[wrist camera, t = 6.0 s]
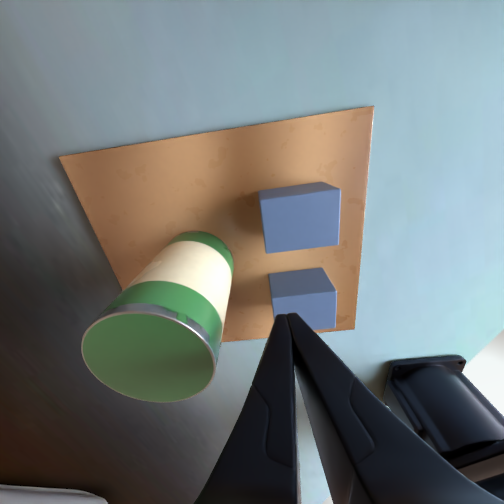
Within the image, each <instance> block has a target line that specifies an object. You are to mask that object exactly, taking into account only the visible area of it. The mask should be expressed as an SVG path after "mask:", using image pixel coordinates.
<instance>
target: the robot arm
mask: <svg viewBox="0 0 504 504" xmlns="http://www.w3.org/2000/svg"><path fill="white" fill-rule="evenodd" d="M465 364H466V360H465V359H464V358H463V357H462V356H459V355H457V356H446V357H435V358H423V359H412V360H401V361H394V362H392V363H391V364H390V368H389V373H388V378H387V383H386V387H385V392H384V398H383V401H384V403H385V405H386V406H388V407H389V408H390V410H391V411H390V410H389V409H388V408H387V407H386V406H385V405H384V404H383V403H382V402H381V401H380V400H379V399H378V398H377V397H376V396H375V395H374V394H373V393H372V392H371V391H370V390H369V389H368V388H367V387H366V386H365V385H364V384H363V383H362V382H361V381H360V380H359V379H358V377H355V374H354V373H353V372H352V371H351V370H350V369H349V368H348V367H347V366H346V365H345V364H344V363H343V362H342V360H341V359H340V358H339V357H338V356H337V355H336V354H335V353H334V352H333V351H332V350H331V349H330V348H329V347H328V346H327V344H326V343H325V342H324V341H323V340H322V339H321V338H320V337H319V336H318V335H317V334H316V333H315V332H314V331H313V330H312V328H311V327H310V326H309V325H308V324H307V323H306V322H305V321H304V320H303V319H302V318H301V317H300V316H299V315H298V314H297V313H296V312H295V313H288V314H287V315H286V314H277V315H276V317H275V320H274V323H273V326H272V329H271V331H270V334H269V337H268V340H267V343H266V345H265V348H264V351H263V354H262V357H261V359H260V362H259V365H258V368H257V371H256V373H255V376H254V379H253V382H252V386H251V387H250V390H249V393H248V396H247V398H246V401H245V403H244V406H243V408H242V411H241V413H240V415H239V417H238V420H237V422H236V424H235V426H234V428H233V430H232V432H231V434H230V436H229V439H228V441H227V443H226V445H225V447H224V449H223V451H222V453H221V455H220V457H219V459H218V461H217V463H216V465H215V467H214V469H213V471H212V473H211V475H210V477H209V479H208V481H207V483H206V484H205V486H204V488H203V490H202V491H201V493H200V495H199V496H198V498H197V499H196V501H195V502H194V504H301V486H300V467H299V448H298V429H297V409H296V390H295V373H296V376H297V380H298V383H299V387H300V390H301V394H302V397H303V400H304V404H305V407H306V411H307V414H308V418H309V421H310V425H311V428H312V432H313V435H314V438H315V442H316V445H317V449H318V452H319V456H320V459H321V463H322V466H323V469H324V473H325V476H326V480H327V483H328V487H329V490H330V494H331V497H332V500H333V504H504V416H503V415H502V414H501V413H500V412H499V411H498V410H497V409H496V408H495V407H494V406H493V405H492V404H491V403H490V402H489V401H488V400H487V399H486V398H485V397H484V396H483V395H482V394H481V392H480V391H479V390H478V389H477V388H476V387H475V386H474V385H473V384H472V383H471V382H470V381H469V380H468V379H467V378H466V377H465V376H464V375H463V373H462V371H463V368H464V366H465ZM294 368H295V373H294Z"/></svg>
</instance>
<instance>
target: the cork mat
mask: <svg viewBox="0 0 504 504" xmlns="http://www.w3.org/2000/svg"><path fill="white" fill-rule="evenodd" d="M373 115H374V106H368V107H361V108H355V109H349V110H343V111H337V112H331V113H324V114H318V115H312V116H306V117H300V118H293V119H287V120H281V121H275V122H269V123H263V124H256V125H250V126H244V127H238V128H232V129H225V130H219V131H213V132H207V133H201V134H195V135H188V136H182V137H176V138H170V139H164V140H157V141H151V142H145V143H139V144H133V145H127V146H120V147H114V148H108V149H102V150H96V151H89V152H83V153H77V154H71V155H65V156H59V159H60V161H61V163H62V165H63V167H64V169H65V171H66V173H67V175H68V178H69V180H70V182H71V184H72V186H73V188H74V190H75V192H76V194H77V196H78V198H79V200H80V202H81V205H82V207H83V209H84V211H85V213H86V215H87V217H88V219H89V221H90V223H91V225H92V227H93V229H94V232H95V234H96V236H97V238H98V240H99V242H100V244H101V246H102V248H103V250H104V252H105V254H106V257H107V259H108V261H109V263H110V265H111V267H112V269H113V271H114V273H115V275H116V277H117V279H118V281H119V284H120V286H121V288H122V290H124V289H125V288H126V287H127V286H128V285H129V284H130V283H131V282H132V281H133V280H134V279H135V278H136V277H137V276H138V274H139V273H140V272H141V271H142V270H143V269H144V268H145V267H146V266H147V265H148V264H149V263H150V262H151V261H152V260H153V259H154V258H155V257H156V256H157V255H158V254H159V252H160V251H162V250H163V249H164V247H165V246H166V245H167V244H168V243H169V242H170V241H171V240H172V239H173V238H174V237H176V236H177V235H179V234H181V233H184V232H188V231H203V232H207V233H210V234H212V235H214V236H216V237H218V238H219V239H220V240H222V241H223V242H224V243H225V244H226V245H227V247H228V248H229V250H230V251H231V253H232V256H233V259H234V270H233V276H232V282H231V288H230V293H229V299H228V305H227V310H226V316H225V322H224V327H223V333H222V338H221V342H230V341H240V340H250V339H260V338H268V337H269V334H270V331H271V329H272V326H273V323H274V318H273V310H272V302H271V294H270V286H269V278H268V274H270V273H278V272H287V271H296V270H304V269H313V268H321V267H322V268H323V269H324V271H325V273H326V274H327V276H328V277H329V279H330V281H331V282H332V284H333V286H334V287H335V289H336V290H337V306H336V328H331V329H320V330H313V331H314V332H315V333H321V332H331V331H341V330H352V329H354V328H355V317H356V305H357V294H358V283H359V272H360V261H361V249H362V238H363V227H364V216H365V205H366V193H367V182H368V171H369V160H370V149H371V137H372V126H373ZM315 182H325V183H327V184H330V185H332V186H335V187H337V188H340V189H341V203H340V229H339V245H334V246H326V247H318V248H310V249H302V250H294V251H286V252H277V253H269V254H266V253H265V245H264V238H263V230H262V221H261V213H260V205H259V197H258V191H259V190H266V189H273V188H280V187H287V186H294V185H301V184H308V183H315Z"/></svg>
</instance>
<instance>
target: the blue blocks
mask: <svg viewBox="0 0 504 504" xmlns="http://www.w3.org/2000/svg"><path fill="white" fill-rule="evenodd" d="M258 197H259V205H260V213H261V221H262V230H263V238H264V245H265V253H266V254H269V253H277V252H286V251H294V250H302V249H310V248H318V247H326V246H334V245H339V229H340V203H341V189H340V188H337V187H335V186H332V185H330V184H327V183H325V182H315V183H308V184H301V185H294V186H287V187H280V188H273V189H266V190H259V191H258ZM268 278H269V286H270V294H271V302H272V310H273V318H274V320H275V317H276V315H277V314H286V315H287V314H288V313H295V312H296V313H297V314H298V315H299V316H300V317H301V318H302V319H303V320H304V321H305V322H306V323H307V324H308V325H309V326H310V327H311V328H312V330H320V329H331V328H336V306H337V290H336V289H335V287H334V286H333V284H332V282H331V281H330V279H329V277H328V276H327V274H326V273H325V271H324V269H323V268H322V267H321V268H313V269H304V270H296V271H287V272H278V273H270V274H268Z"/></svg>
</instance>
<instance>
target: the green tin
mask: <svg viewBox="0 0 504 504" xmlns="http://www.w3.org/2000/svg"><path fill="white" fill-rule="evenodd" d="M233 270H234V259H233V256H232V253H231V251H230V250H229V248H228V247H227V245H226V244H225V243H224V242H223V241H222V240H220V239H219V238H218V237H216V236H214V235H212V234H210V233H207V232H203V231H188V232H184V233H181V234H179V235H177V236H176V237H174V238H173V239H172V240H171V241H170V242H169V243H168V244H167V245H166V246H165V247H164V249H163V250H162V251H160V252H159V254H158V255H157V256H156V257H155V258H154V259H153V260H152V261H151V262H150V263H149V264H148V265H147V266H146V267H145V268H144V269H143V270H142V271H141V272H140V273H139V274H138V276H137V277H136V278H135V279H134V280H133V281H132V282H131V283H130V284H129V285H128V286H127V287H126V288H125V289H124V290H123V291H122V292H121V293H120V294H119V296H118V297H117V298H116V299H115V300H114V301H113V302H112V303H111V304H110V305H109V306H108V307H107V308H106V309H105V310H104V312H103V313H102V314H101V315H100V316H99V317H98V318H97V319H96V320H95V321H94V322H93V323H92V324H91V325H90V326H89V327H88V329H87V330H86V332H85V334H84V336H83V338H82V343H81V352H82V356H83V359H84V361H85V364H86V365H87V367H88V368H89V370H90V371H91V372H92V374H93V375H94V376H95V377H96V378H97V379H99V380H100V381H101V382H102V383H104V384H105V385H107V386H108V387H110V388H111V389H113V390H115V391H117V392H119V393H121V394H123V395H126V396H129V397H132V398H135V399H139V400H144V401H150V402H175V401H181V400H185V399H188V398H191V397H193V396H195V395H197V394H199V393H200V392H202V391H203V390H204V389H206V388H207V386H208V385H209V384H210V383H211V381H212V380H213V377H214V375H215V371H216V365H217V360H218V354H219V349H220V343H221V338H222V333H223V327H224V322H225V316H226V310H227V305H228V299H229V293H230V288H231V282H232V276H233Z"/></svg>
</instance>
